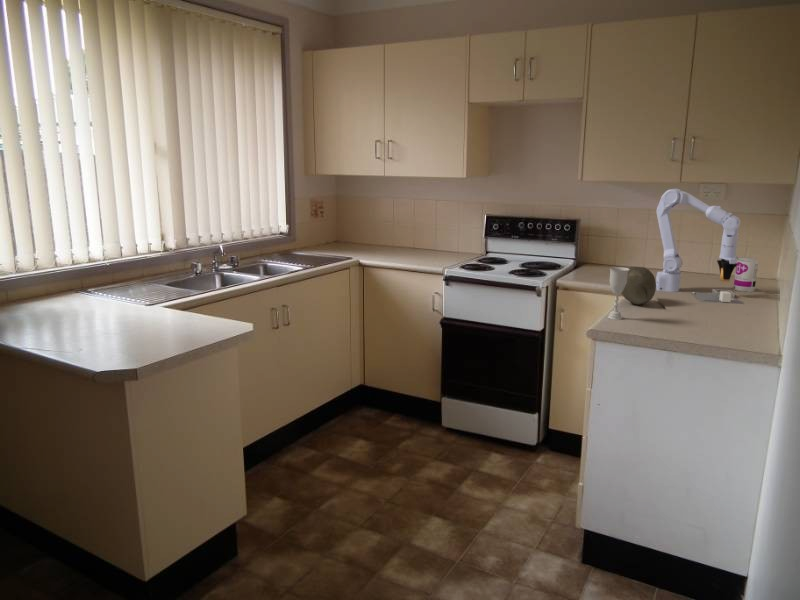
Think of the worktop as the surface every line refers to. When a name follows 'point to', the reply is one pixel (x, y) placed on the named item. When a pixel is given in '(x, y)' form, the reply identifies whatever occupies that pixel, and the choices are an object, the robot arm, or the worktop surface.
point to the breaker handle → (725, 296)
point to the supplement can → (745, 274)
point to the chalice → (617, 287)
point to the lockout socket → (717, 292)
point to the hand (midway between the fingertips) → (724, 278)
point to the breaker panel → (712, 298)
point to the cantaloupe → (639, 285)
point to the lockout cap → (722, 276)
